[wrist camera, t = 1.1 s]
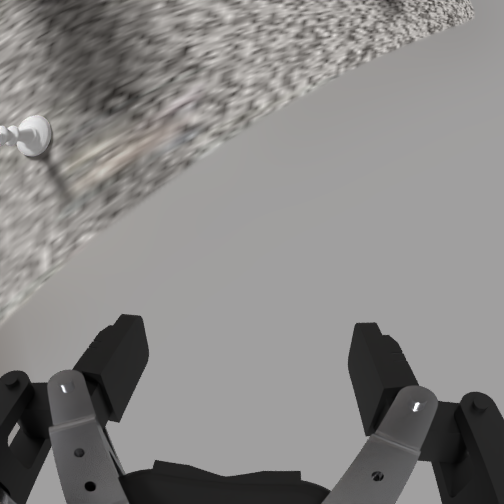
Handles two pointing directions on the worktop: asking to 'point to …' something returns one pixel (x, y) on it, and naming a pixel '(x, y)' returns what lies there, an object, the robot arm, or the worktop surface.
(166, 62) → the worktop surface
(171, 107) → the worktop surface
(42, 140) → the chess piece
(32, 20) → the worktop surface
